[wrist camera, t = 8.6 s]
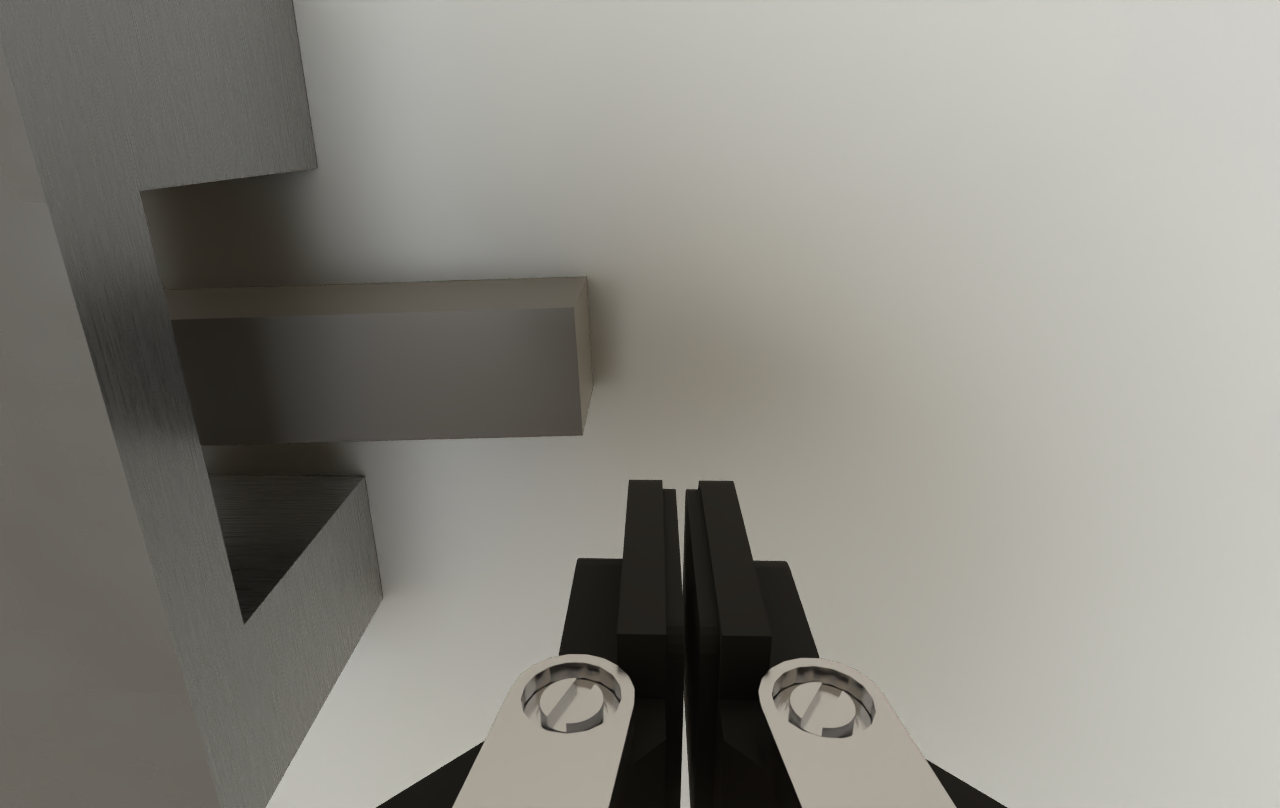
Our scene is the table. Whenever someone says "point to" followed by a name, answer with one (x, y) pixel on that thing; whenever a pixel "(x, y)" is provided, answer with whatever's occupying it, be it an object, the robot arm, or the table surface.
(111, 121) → the grey slotted block
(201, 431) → the grey and orange bar
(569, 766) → the robot arm
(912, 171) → the table surface
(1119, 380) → the table surface
